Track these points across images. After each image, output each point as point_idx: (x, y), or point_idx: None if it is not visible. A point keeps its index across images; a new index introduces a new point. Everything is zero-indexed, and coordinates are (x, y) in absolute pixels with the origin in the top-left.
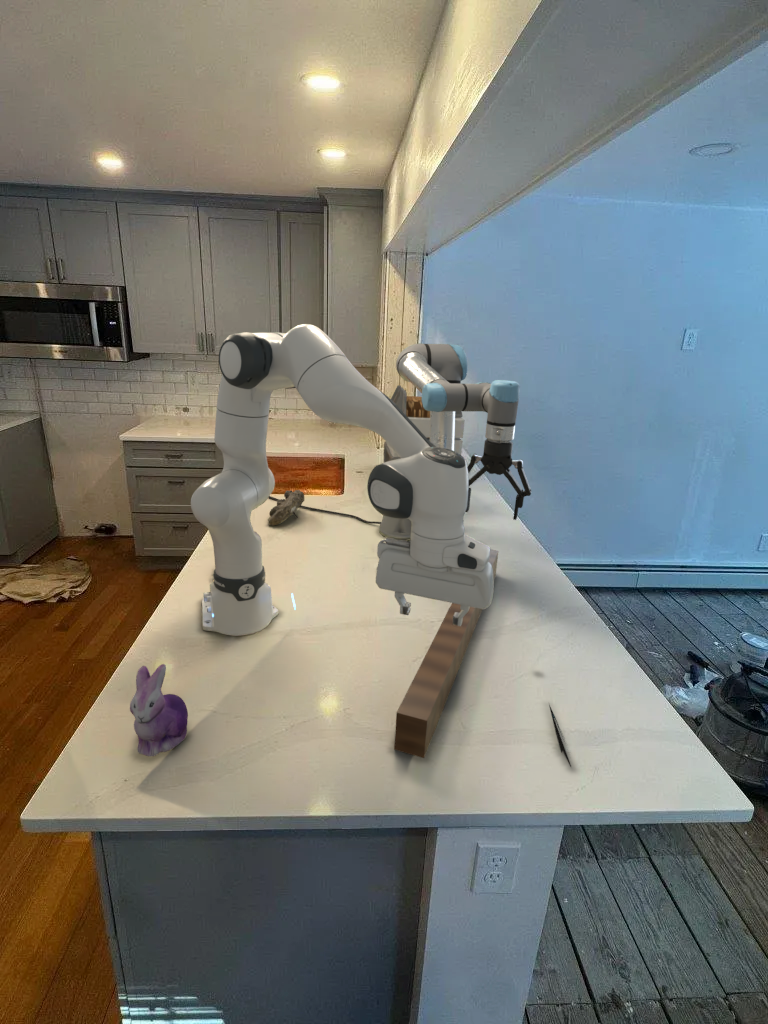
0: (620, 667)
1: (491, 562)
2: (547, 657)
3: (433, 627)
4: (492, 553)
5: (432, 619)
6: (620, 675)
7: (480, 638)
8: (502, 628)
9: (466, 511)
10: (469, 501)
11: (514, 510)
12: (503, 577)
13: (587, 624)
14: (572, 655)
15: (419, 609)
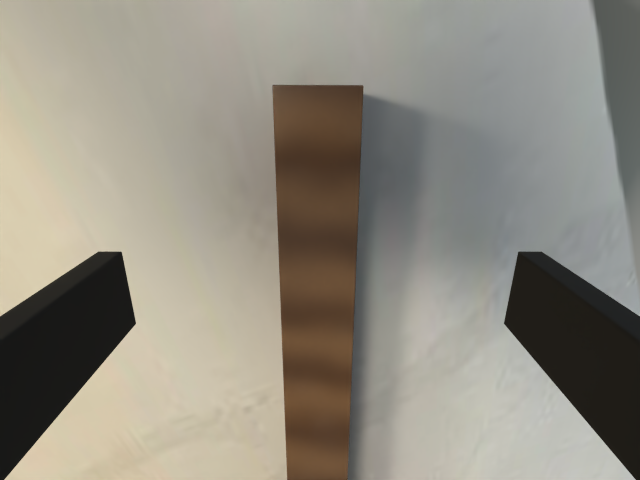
0: None
1: (349, 229)
2: (494, 440)
3: (257, 426)
4: (340, 133)
5: (244, 401)
6: None
7: (360, 428)
8: (401, 381)
9: (126, 328)
10: (75, 307)
11: (549, 376)
12: (381, 91)
13: (613, 293)
14: (546, 419)
15: (201, 375)
